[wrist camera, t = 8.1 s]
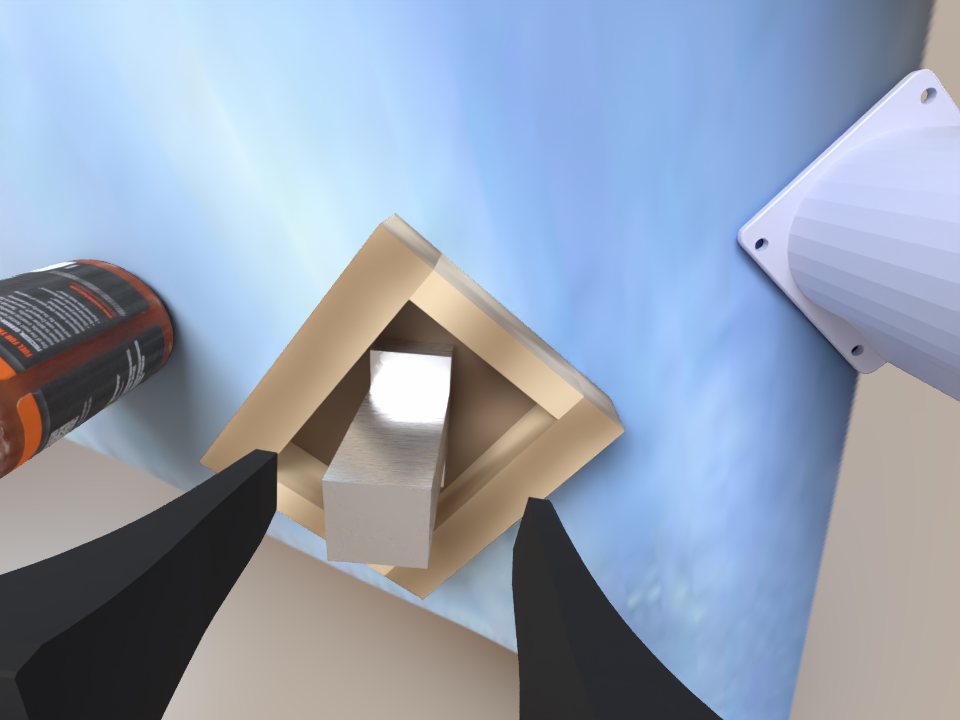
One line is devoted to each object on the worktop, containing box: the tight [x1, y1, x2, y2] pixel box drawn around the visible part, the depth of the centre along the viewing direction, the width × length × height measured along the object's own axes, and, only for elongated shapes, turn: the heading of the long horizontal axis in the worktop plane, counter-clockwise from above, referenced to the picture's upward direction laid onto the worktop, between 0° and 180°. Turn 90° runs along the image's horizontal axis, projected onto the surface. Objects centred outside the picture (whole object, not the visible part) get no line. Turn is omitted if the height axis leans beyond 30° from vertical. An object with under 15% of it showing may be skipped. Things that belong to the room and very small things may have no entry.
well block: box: [199, 214, 625, 600], centre depth 22 cm, size 13×14×3 cm
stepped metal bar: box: [322, 337, 454, 569], centre depth 20 cm, size 4×7×8 cm, turn 175°
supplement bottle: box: [0, 260, 173, 478], centre depth 17 cm, size 6×6×11 cm
